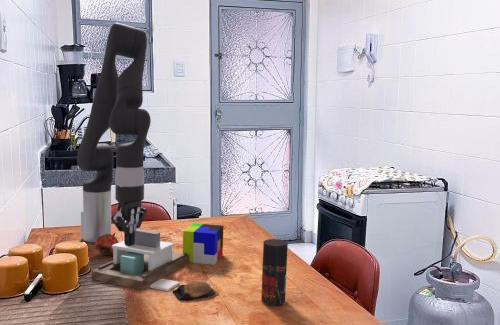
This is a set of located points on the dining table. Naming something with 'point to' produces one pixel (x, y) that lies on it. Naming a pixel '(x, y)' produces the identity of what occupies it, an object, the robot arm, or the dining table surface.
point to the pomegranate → (106, 244)
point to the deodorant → (274, 272)
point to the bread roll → (194, 291)
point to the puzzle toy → (203, 243)
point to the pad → (164, 284)
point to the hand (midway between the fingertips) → (129, 245)
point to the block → (132, 263)
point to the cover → (146, 248)
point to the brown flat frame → (113, 275)
